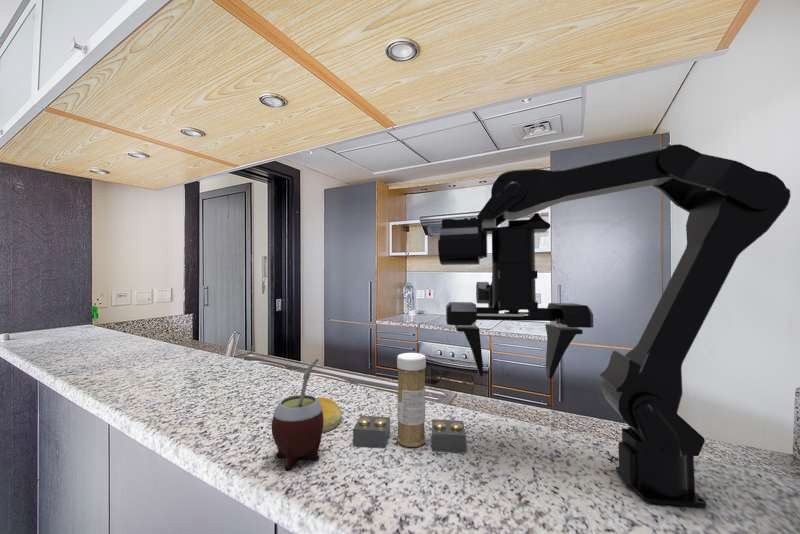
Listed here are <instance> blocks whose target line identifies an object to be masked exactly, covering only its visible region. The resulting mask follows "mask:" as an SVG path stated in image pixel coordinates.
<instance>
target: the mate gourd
mask: <svg viewBox="0 0 800 534" xmlns="http://www.w3.org/2000/svg"><path fill="white" fill-rule="evenodd" d="M319 361H320V359H319V358H317V359H315V360H314V361H312V362H311V363H310V364H309V366H308V367H307V369H306V370H305V371H304V373H303V377H302V378H303V381H302V386H301V391H300V394H299V395H291V396H289V397H286V398H284V399H282V400H280V402H278V404H277V406H275V410H274V412H273V415H272V416H273V417H272V420H271V434H272V439H273V441H274V443H275V446H276V447H277V453H276V454H275V458H276V459H281V460H286V465H285V466H284V471H285V472H291V470H293V469H294V467H295V466H296V465H297V463H298V462H301V461H303V462H319V460H320V455H318V454H319V453H318V452H319V448H320V446H321V443H322V442H321V441H322V434H323V433H322V430H323V423H324V420H323V411H322V405H321V404H320V402H319V401H318V399H316V398H317V397H315V396H312V395H310V394H306V391H307V385H308V382H309V379H310V376H311V371H312V370H313V368H314V367H315V365H316V364H317V363H318V362H319ZM305 394H306V395H305Z"/></svg>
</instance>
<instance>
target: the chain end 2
mask: <svg viewBox="0 0 800 534" xmlns="http://www.w3.org/2000/svg"><path fill="white" fill-rule="evenodd" d="M431 421H432V422H431V451H432V452H443V453H444V452H446V453H462V454H463V453H465V454H467V434H466V429H465V428H466V427H465V422H464V421H463V420H452V419H435V418H434V419H432V420H431Z"/></svg>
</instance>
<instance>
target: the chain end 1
mask: <svg viewBox="0 0 800 534" xmlns="http://www.w3.org/2000/svg"><path fill="white" fill-rule="evenodd" d="M390 434H391V417H390V416H375V415H374V416H371V415H360V416H359V418H358V420H357V422H356V423H355V425H354V427H353V428H352V446H353V447H364V448H365V447H367V448H380V449H386V447H387V444H388V441H389V437H390Z"/></svg>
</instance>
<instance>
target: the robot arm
mask: <svg viewBox="0 0 800 534" xmlns="http://www.w3.org/2000/svg"><path fill="white" fill-rule="evenodd" d="M649 186H652V187H654V188H656V189H658V190H659V191H660V192H662V193H663V194H664V195H665V196H666V197H667V198H668V199H669V200H670V201H671V202H672V203H673V204H674V206H676V207H678V208H680V209H682V210H684V211H686V212H687V213H688V216H687V219H686V220H687V221H686V223H685V230H686V232H685V234H686V246H685V249H684V252H683V253H682V255H681V257H680V259H679V261H678V263H677V265H676V267H675V269H674V271H673V272H672V276H671V277H670V280H669V281H668V283H667V285H666V287H665V289H664V290H663V293H662V295H661V296H660V297H661V298H660V299H659V301H658V304H657V305H656V307H655V309H654V311H653V313H652V315H651V317H650V319H649V321H648V323H647V325H646V327H645V329H644V331H643V333H642V334H641V337H640V339H639V341H638V343H637V344H636V345H635V346H634V348H632V349H630V350H629V351H628V352H627V353H626V354H622V353H621V352H619V351H617V350H613V351H612V353H611V355H610V359H609V362H608V365H607V367H606V368H605V370H603V372H601V373H600V374H599V377H601V378H602V379H603V382H602V385H601V391H602V393H603V396H604V399H605V400H606V401H607V402H608V404H609V405H610V406H611V407H612V409H613V410H615V412H616V413H617V414H618V416H620V419H621V420H622V421H623V422H624V423H626V424H627V426H628V428H621V441H619V442H618V466H616V467H615V472H616V473H617V474H618V475H619V476H620V477H621V478H622V479H623V480H624V481H625V483H626V484H628V485H629V486H630V487H631V488H632V490H633V491H634V492H635V493H636V494H637V495H638V496H639V497H640V498H641V499H642V500H643V501H644V502H646V503H649V504H658V505H659V504H661V505H675V506H687V507H688V506H689V507H700V508H706V507H707V501H706V499H704V498H703V497H702V496H700V495H699V494H698V493H697V492H696V485H695V484H696V482H695V479H696V478H695V461H694V460H695V457H699V456H700V455H701V451H702V449H703V447H704V445H705V442H706V441H705V440H706V439H705V437H704V436H702V435H701V434H700V433H699V432H698V431H697V430H696V429H695V428H694V427H693V426H691V425H690V424H689V423H688V422H687V421H686V420H685V419H684V418H682V417H681V415H679V413H678V412H679V408H680V405H681V401H682V397H683V393H684V392H683V391H684V390H683V373H682V368H683V363H684V361H685V359H686V358H687V355H688V353H689V351H690V349H691V347H692V346H693V343H694V341H695V340H696V338H697V336H698V335H699V332H700V330H701V328H702V327H703V324H704V322H705V321H706V318H707V316H708V314H709V313H710V311H711V310H712V307H713V305H714V303H715V301H716V299H717V297H718V295H719V294H720V292H721V290H722V288H723V286H724V284H725V282H726V279H727V278H728V276H729V274H730V273H731V270H732V268H733V266H734V265H735V262H736V260H737V259H738V257H739V256H740V254H741V253H743V252H744V251H745V250H746V249H747V248H749V247H750V246H751V245H752V244H754V243H755V242H756V241H757V240H758V239H759V238H761V237H762V236H763V235H764V234H766V233H767V232H768V231H769V230H770V228H771V227H772V226H773V225H774V224H775V222H776V221H777V220H778V218H779V217H780V216H781V214H782V213H783V212H784V211H785V210H786V209H787V207H788V206H789V203H790V199H791V189H789V188H787V186H786V184H785V183H784V181H783V180H782V179H781V178H779V177H778V176H777V175H775V174H773V173H771V172H768V171H765V170H764V171H761V170H757V169H755V168H752V167H751V166H748V165H747V164H745V163H742V162H740V161H738V160H733V159H730V158H729V159H728V158H724V157H720V156H715V155H709V154H706V153H701V152H699V151H697V150H695V149H694V148H691V147H689V146H688V145H684V144H681V143H680V144H679V143H678V144H668V145H666V146H664V147H662V148H660V149H659V148H658V149H655V150H650V151H645V152H641V153H637V154H631V155H626V156H623V157H618V158H612V159H608V160H603V161H599V162H593V163H590V164H584V165H580V166H579V165H578V166H574V167H570V168H566V169H557V170H556V169H555V170H554V169H553V170H550V169H543V168H542V169H541V168H526V169H525V168H524V169H511V170H507V171H505V172H503V173H501V174H500V175H498V177H496V180H495V181H494V182H493V184H492V186H491V189H490V190H491V191H490V193H491V196H490V198H489V199H488V201H487V202H486V203H485V204H484V206H483V208H482V209H481V210H480V211H479V213H478V214H477V216H476V218H467V219H466V218H465V219H453V218H444V219H442V220H441V228H440V231H439V239H438V240H437V249H438V250H437V252H438V259H439V260H438V261H439V263H440V265H441V266H457V265H459V266H461V265H462V266H463V265H468V266H469V265H471V266H472V265H473V266H474V265H480V263H481V259H484V258H488V235H491V264H492V265H491V271H492V272H491V273H492V274H491V282H490V283H489V282H488V281H477V282H476V284H475V285H476V286H475V288H476V290H475V295H476V296H475V297H476V299H475V300H476V303H474V302H472V301H469V302H468V301H467V302H466V301H459V302H458V301H456V302H455V301H449V302H448V303H447V304H446V306H445V322H446V325H448V326H454V328H455V330H456V331H457V332H458V333H463V334H464V335H465V338H466V340H467V342H468V345H469V346H470V350H471V353H472V356H473V360H474V363H475V367H476V369H477V373H478V376H479V377H483V375H484V374H483V373H484V362H483V354H482V344H481V333H480V328H479V327H478V326H477V324H476V323H477V321H516V322H517V321H521V322H523V321H529V322H530V321H531V322H537V321H538V322H549V323H545V331H546V335H547V336H546V355H545V356H546V357H545V372H546V373H545V374H546V377H547V378H548V379H551V380H552V379H553V377H554V375H555V373H556V371H557V369H558V367H559V365H560V363H561V360H562V359H563V356H564V354H565V353H566V351H567V349H568V347H569V346H570V345H571V342H572V341H573V339H574V338H575V337H576V335H583V333H584V331H583V329H581V328H590V329H591V328H594V314H593V312H592V309H591V308H590V306H588V305H586V304H581V303H580V304H579V303H571V302H570V303H568V302H567V303H564V302H549V303H548V304H547V307H539V302H538V301H537V299H536V298H537V297H536V279H538V270H536V249H535V248H536V247H535V246H536V244H535V242H536V238H535V233H536V234H537V233H546V232H547V231H548V230H549V229H550V228H551V223H549V222H547V221H546V220H545V219H544V218H542V217H541V215H540V214H539V213H538V212H540V211H543V210H545V209H547V208H550V207H552V206H555V205H558V204H561V203H563V202H565V203H566V202H569V201H574V200H580V199H581V200H582V199H585V198H590V197H595V196H601V195H607V194H613V193H617V192H623V191H628V190H633V189H634V190H635V189H638V188H644V187H649ZM533 214H534V215H533ZM530 215H533V216H532V217H531V218H530V219H521V218H524V217H527V216H530ZM507 220H508V224H507V226H499V225H501V224H502V223H504V222H506V221H507ZM477 304H483V305H484V304H487V306H484V307H483V306H481V307H480V306H477ZM521 310H522V311H521ZM523 310H525V311H523ZM502 311H503V312H502ZM501 312H502V313H501Z"/></svg>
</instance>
